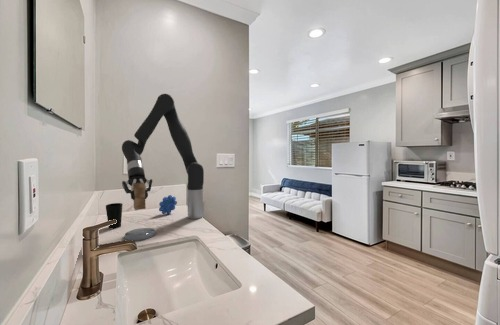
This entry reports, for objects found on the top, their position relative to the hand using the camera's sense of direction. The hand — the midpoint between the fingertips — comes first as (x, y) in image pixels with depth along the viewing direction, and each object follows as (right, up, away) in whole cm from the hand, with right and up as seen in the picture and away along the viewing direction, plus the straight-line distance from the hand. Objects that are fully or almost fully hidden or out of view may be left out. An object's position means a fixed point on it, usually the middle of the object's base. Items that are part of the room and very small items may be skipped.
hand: (140, 198), depth 106 cm
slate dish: (0, -18, +1) cm, 18 cm away
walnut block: (-1, -5, +2) cm, 5 cm away
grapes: (-1, -16, +39) cm, 42 cm away
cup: (-20, -18, +13) cm, 30 cm away
